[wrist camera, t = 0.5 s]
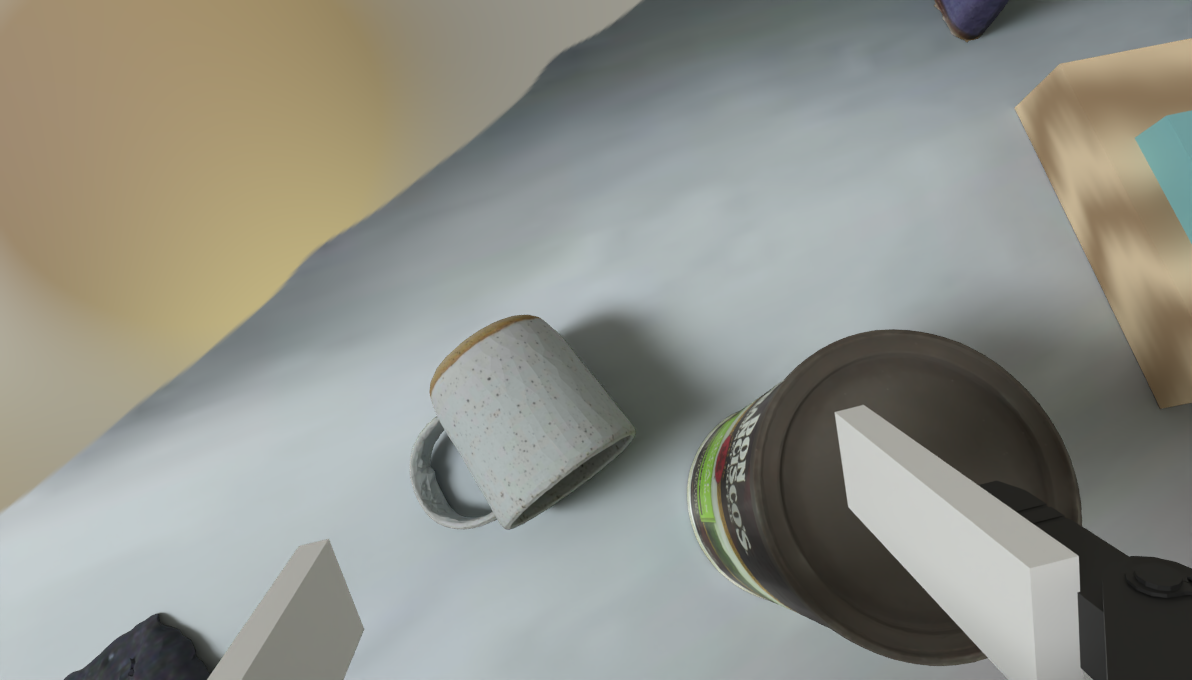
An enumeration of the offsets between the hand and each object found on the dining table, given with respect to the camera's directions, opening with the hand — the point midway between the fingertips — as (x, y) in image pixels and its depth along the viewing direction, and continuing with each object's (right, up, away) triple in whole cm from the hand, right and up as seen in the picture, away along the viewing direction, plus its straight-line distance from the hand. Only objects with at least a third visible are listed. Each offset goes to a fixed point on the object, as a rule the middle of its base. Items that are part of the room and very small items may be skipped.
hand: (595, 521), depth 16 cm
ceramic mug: (-4, -1, +18) cm, 19 cm away
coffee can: (+10, -4, +18) cm, 20 cm away
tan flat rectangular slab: (+34, +11, +22) cm, 42 cm away
